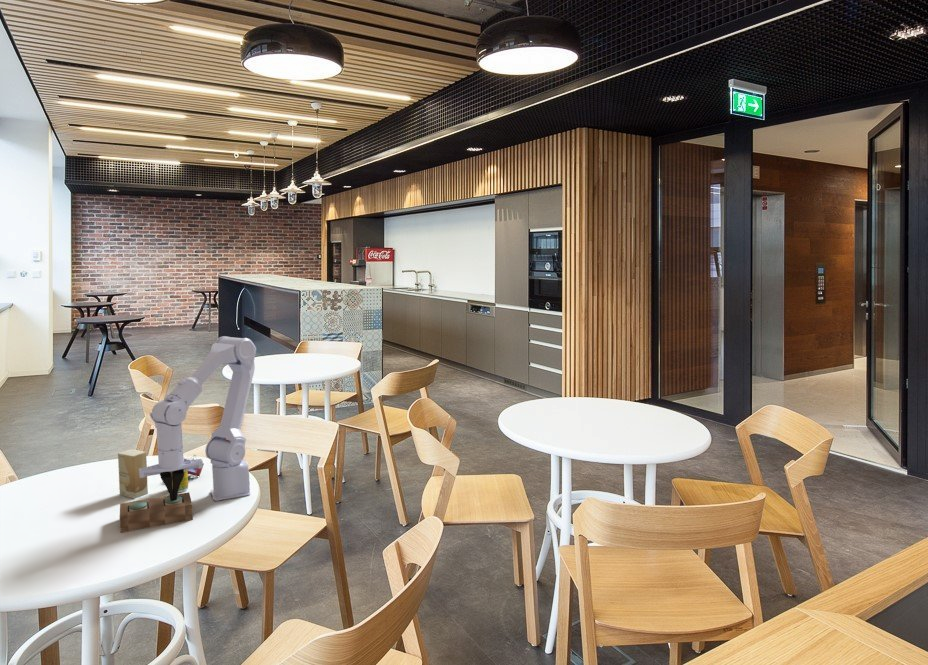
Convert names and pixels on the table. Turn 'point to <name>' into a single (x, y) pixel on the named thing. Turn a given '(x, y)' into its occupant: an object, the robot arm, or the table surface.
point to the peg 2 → (169, 502)
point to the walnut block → (155, 513)
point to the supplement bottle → (183, 482)
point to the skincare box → (132, 473)
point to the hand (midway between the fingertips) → (173, 499)
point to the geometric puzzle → (194, 470)
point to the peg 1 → (137, 506)
